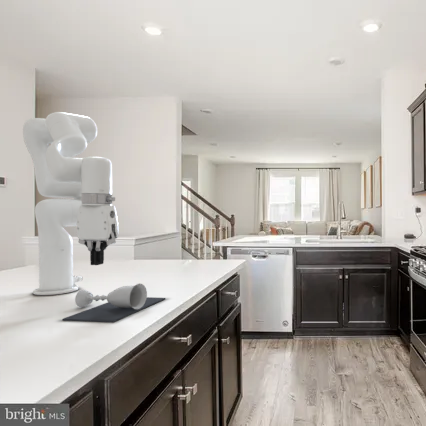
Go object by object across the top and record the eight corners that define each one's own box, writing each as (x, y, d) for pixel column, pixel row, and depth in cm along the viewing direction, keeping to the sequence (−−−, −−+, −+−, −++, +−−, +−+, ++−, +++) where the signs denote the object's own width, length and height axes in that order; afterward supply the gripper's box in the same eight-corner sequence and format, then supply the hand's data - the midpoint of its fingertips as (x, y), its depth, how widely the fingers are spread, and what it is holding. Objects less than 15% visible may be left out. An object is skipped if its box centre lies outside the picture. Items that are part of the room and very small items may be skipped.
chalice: (78, 316, 104) (135, 314, 101) (68, 297, 101) (126, 294, 98) (95, 300, 111) (149, 297, 107) (86, 281, 108) (141, 278, 105)
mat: (123, 298, 117) (123, 296, 117) (165, 299, 116) (165, 297, 116) (62, 320, 94) (62, 318, 94) (113, 322, 92) (113, 320, 92)
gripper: (129, 201, 109) (129, 263, 109) (82, 200, 111) (82, 262, 111) (112, 200, 102) (112, 267, 102) (62, 200, 103) (62, 265, 104)
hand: (97, 264), depth 107 cm, fingers closed
